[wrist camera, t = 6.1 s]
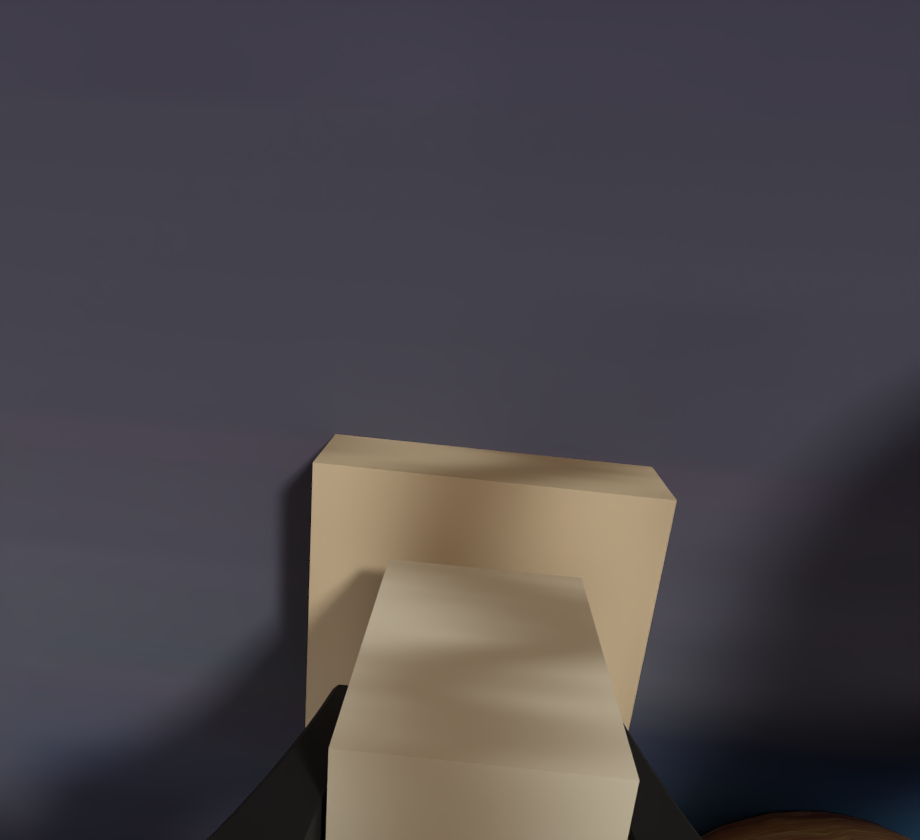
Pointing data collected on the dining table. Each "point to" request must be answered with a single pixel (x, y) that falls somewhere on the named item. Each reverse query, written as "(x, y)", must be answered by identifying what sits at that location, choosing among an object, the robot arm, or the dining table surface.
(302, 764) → the robot arm
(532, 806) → the maple block
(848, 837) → the pastry
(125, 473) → the dining table surface
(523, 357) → the dining table surface
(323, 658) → the oak slab
